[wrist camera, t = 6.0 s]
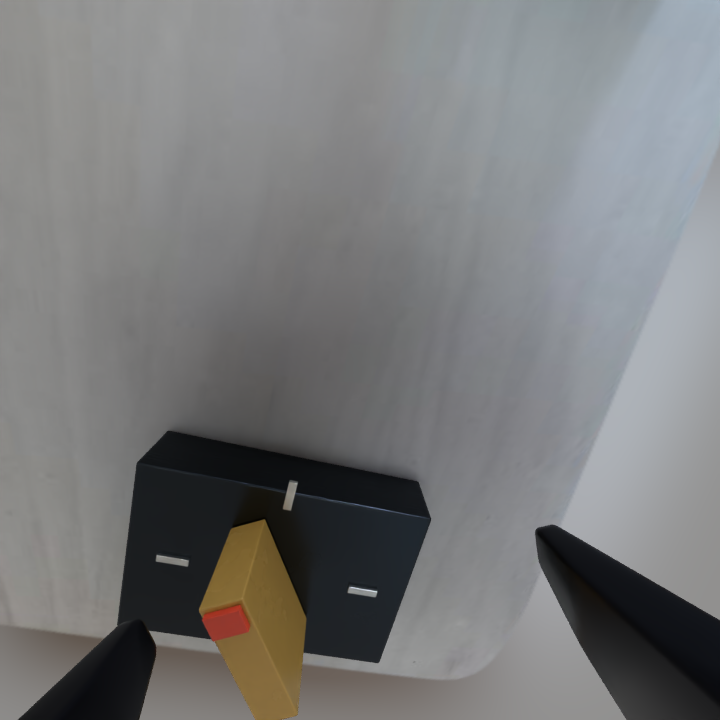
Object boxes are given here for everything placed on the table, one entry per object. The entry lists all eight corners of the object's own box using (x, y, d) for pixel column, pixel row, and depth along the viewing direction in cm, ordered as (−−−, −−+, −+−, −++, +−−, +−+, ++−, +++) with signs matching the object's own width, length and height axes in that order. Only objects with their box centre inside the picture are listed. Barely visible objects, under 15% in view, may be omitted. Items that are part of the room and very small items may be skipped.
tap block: (422, 471, 20) (437, 510, 17) (371, 618, 22) (376, 676, 19) (169, 418, 18) (135, 451, 15) (146, 583, 21) (113, 639, 18)
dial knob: (306, 618, 18) (297, 724, 14) (275, 626, 18) (256, 734, 14) (265, 518, 16) (240, 604, 12) (230, 527, 17) (194, 617, 12)
